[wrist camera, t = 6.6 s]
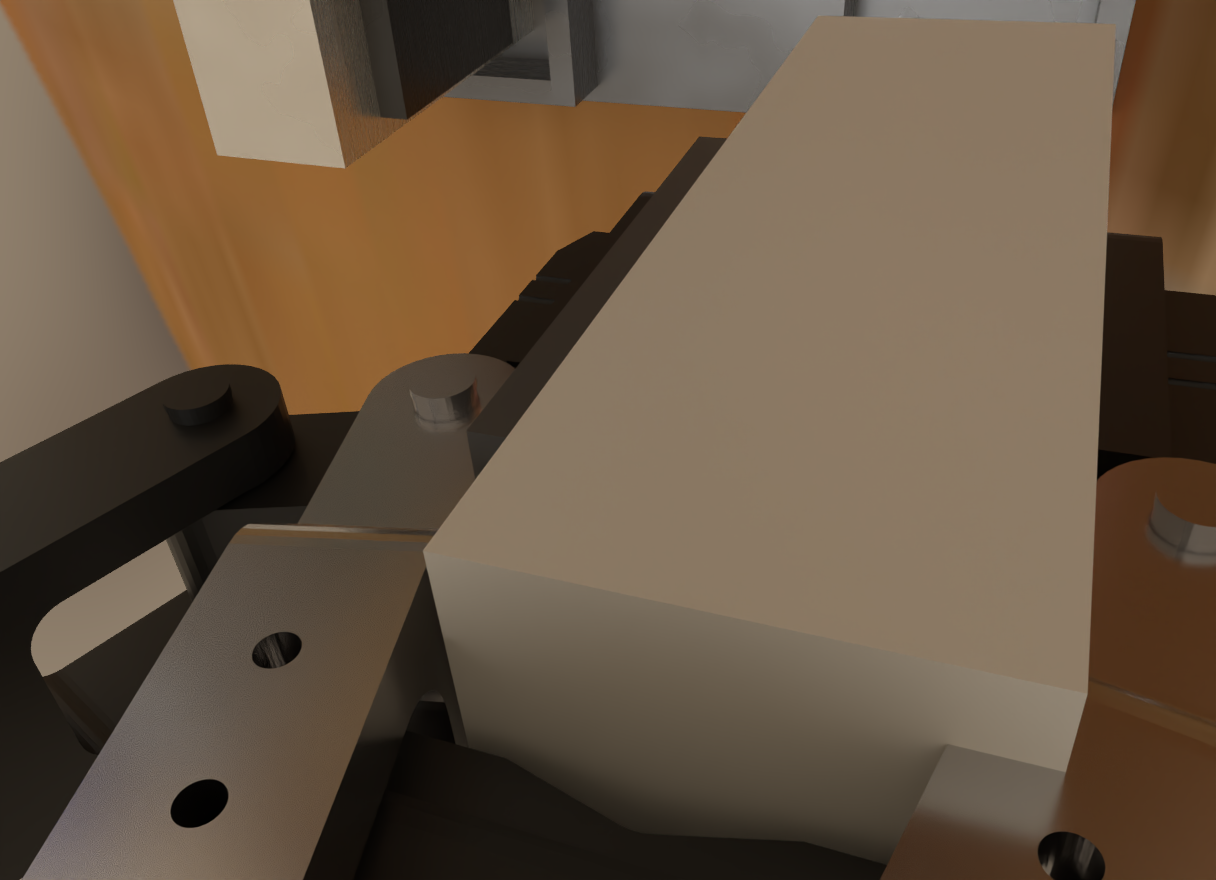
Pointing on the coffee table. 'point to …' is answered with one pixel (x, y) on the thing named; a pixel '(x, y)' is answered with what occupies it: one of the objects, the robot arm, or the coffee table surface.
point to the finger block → (809, 453)
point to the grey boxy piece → (510, 57)
